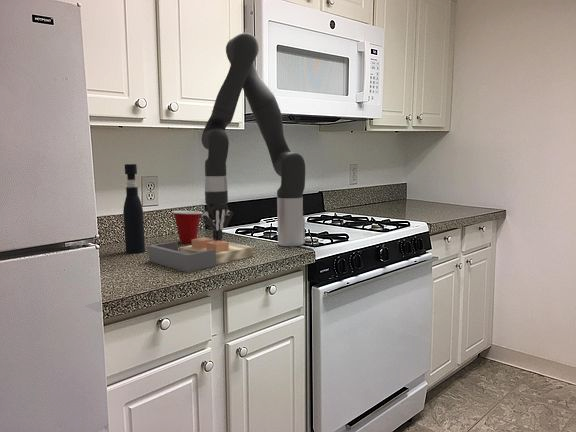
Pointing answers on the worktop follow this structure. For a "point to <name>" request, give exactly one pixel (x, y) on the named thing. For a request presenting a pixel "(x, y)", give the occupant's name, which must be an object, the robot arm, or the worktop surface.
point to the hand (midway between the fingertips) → (217, 240)
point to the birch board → (224, 252)
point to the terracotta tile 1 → (200, 242)
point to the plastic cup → (187, 225)
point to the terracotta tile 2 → (217, 245)
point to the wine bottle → (133, 214)
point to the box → (181, 257)
